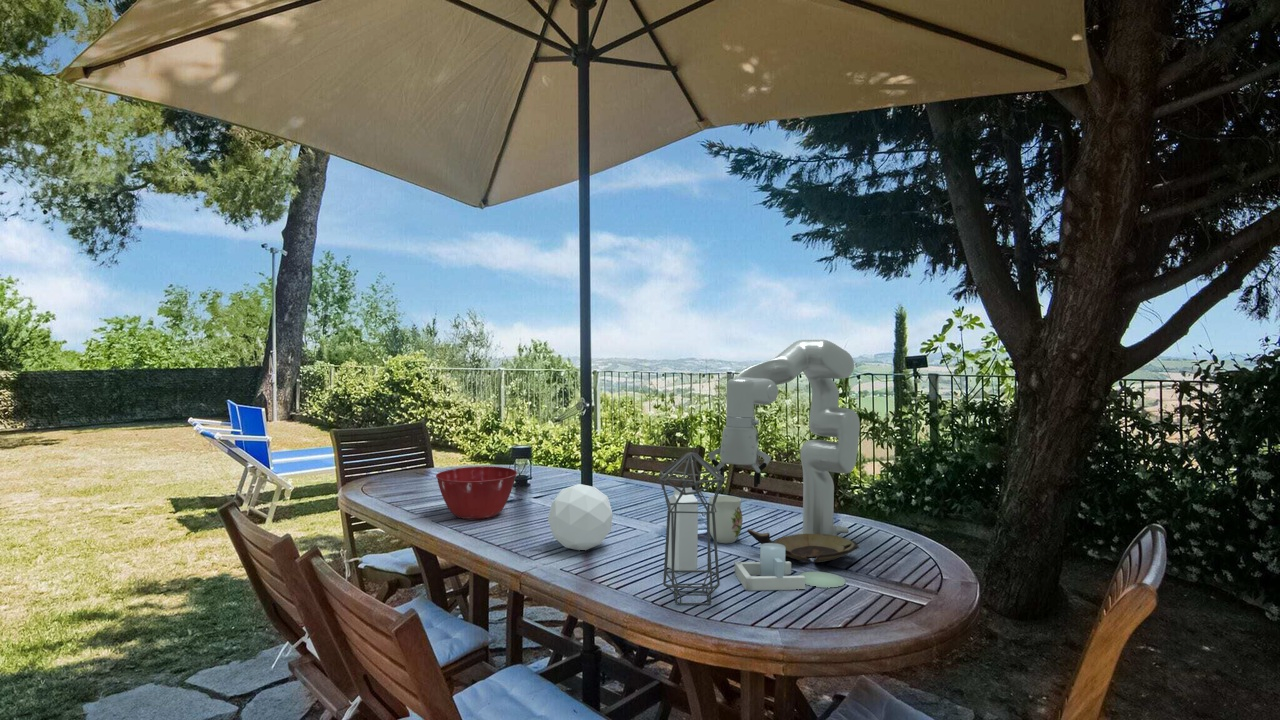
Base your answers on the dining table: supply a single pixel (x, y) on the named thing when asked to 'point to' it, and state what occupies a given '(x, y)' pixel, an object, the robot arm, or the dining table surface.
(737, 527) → the pitcher
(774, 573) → the jug
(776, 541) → the oil lamp
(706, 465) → the geometric lantern
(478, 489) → the mixing bowl
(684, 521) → the milk
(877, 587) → the dining table surface
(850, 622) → the dining table surface
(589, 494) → the ball
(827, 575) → the mat
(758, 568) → the holder
